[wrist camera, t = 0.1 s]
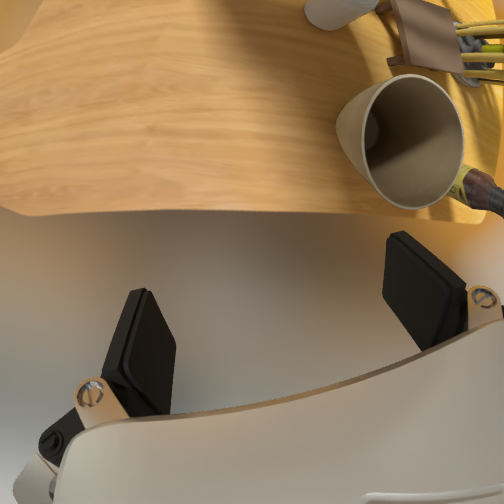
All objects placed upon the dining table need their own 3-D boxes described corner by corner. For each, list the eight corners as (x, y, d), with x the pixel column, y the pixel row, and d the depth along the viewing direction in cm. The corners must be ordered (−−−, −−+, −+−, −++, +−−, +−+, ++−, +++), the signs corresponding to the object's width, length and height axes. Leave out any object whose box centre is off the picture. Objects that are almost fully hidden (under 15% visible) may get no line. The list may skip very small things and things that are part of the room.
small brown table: (370, 4, 27) (393, -8, 21) (425, 16, 27) (449, 10, 21) (385, 68, 32) (411, 64, 26) (437, 74, 33) (464, 74, 27)
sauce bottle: (414, 175, 42) (498, 218, 24) (428, 146, 39) (515, 178, 22) (435, 191, 43) (511, 237, 26) (448, 164, 41) (527, 200, 24)
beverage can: (350, 18, 28) (392, -4, 18) (326, 39, 30) (364, 18, 20) (319, -9, 26) (352, -40, 15) (293, 11, 28) (321, -20, 17)
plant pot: (329, 65, 32) (388, 47, 18) (405, 109, 36) (476, 120, 22) (295, 155, 38) (339, 181, 24) (375, 188, 42) (436, 227, 28)
